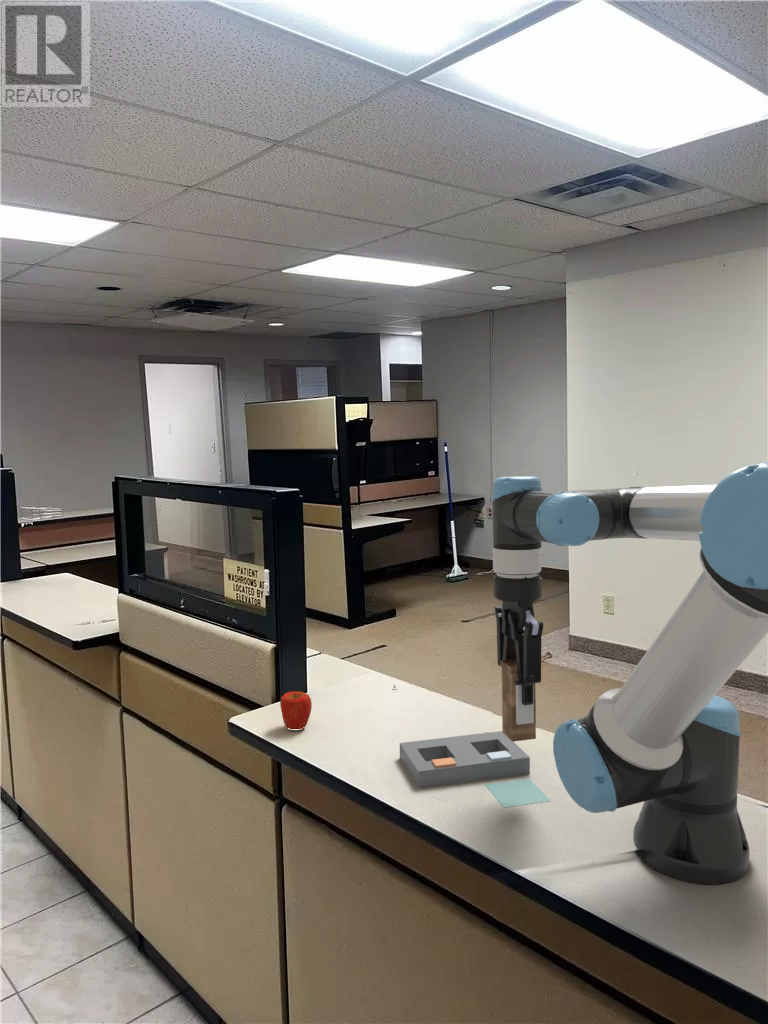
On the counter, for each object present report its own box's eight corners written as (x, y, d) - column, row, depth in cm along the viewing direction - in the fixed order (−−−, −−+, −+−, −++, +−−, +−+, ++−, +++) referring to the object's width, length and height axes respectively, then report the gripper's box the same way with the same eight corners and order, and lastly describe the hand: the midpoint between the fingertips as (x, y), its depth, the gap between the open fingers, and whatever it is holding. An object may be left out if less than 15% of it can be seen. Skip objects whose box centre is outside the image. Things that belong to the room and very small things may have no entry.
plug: (537, 739, 118) (536, 665, 117) (511, 742, 117) (510, 667, 116) (525, 729, 122) (525, 657, 121) (500, 732, 121) (500, 660, 120)
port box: (529, 779, 128) (529, 755, 128) (418, 794, 124) (418, 769, 123) (502, 751, 140) (502, 728, 140) (399, 764, 135) (399, 740, 135)
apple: (315, 723, 155) (315, 689, 154) (305, 735, 149) (304, 699, 148) (287, 721, 157) (286, 687, 156) (276, 732, 151) (275, 697, 150)
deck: (550, 807, 118) (550, 800, 118) (503, 814, 117) (503, 807, 116) (529, 785, 126) (529, 778, 126) (485, 791, 124) (485, 784, 124)
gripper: (564, 581, 110) (565, 734, 112) (517, 564, 127) (518, 698, 129) (517, 584, 108) (519, 740, 110) (475, 567, 125) (477, 703, 127)
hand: (518, 717), depth 120 cm, fingers closed on plug, 4 cm apart
